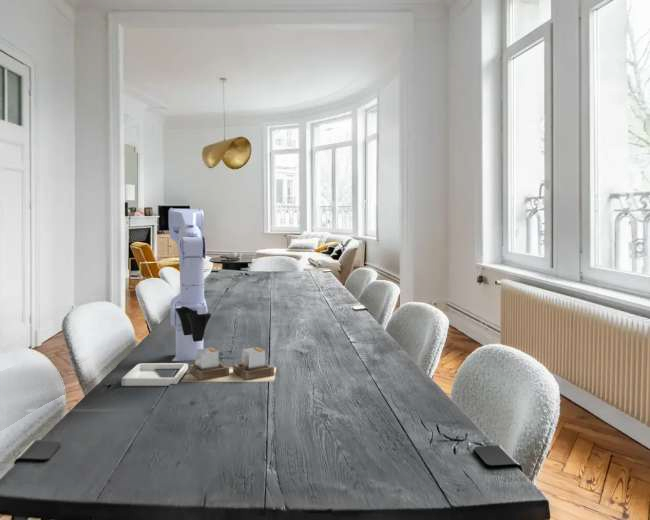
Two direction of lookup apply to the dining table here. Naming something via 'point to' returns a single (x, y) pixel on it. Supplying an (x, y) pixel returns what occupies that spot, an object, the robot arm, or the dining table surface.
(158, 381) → the white square tray
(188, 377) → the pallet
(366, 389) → the dining table surface
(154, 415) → the dining table surface
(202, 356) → the loose billet
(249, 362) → the seated billet
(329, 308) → the dining table surface
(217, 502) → the dining table surface
